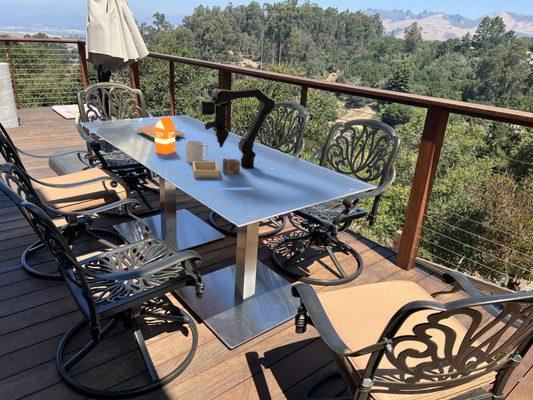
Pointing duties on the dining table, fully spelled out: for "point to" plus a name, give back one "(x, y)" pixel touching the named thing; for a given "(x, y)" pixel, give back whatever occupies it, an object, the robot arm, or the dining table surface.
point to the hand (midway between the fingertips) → (219, 145)
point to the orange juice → (165, 136)
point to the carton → (206, 169)
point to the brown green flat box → (150, 131)
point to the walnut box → (231, 166)
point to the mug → (195, 151)
